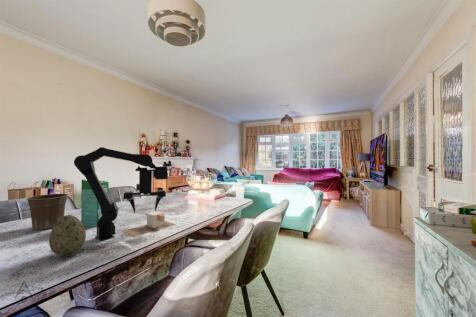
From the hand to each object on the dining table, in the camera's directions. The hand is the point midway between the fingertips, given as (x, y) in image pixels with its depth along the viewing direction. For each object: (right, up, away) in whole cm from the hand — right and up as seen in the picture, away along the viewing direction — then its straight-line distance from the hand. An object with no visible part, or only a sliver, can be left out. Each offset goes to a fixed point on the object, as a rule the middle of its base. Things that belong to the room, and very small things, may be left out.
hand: (145, 211), depth 105 cm
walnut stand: (+1, -10, +4) cm, 11 cm away
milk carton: (-33, -10, +12) cm, 37 cm away
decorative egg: (-18, -10, -25) cm, 33 cm away
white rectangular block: (+3, -9, +7) cm, 12 cm away
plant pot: (-54, -10, +7) cm, 56 cm away
